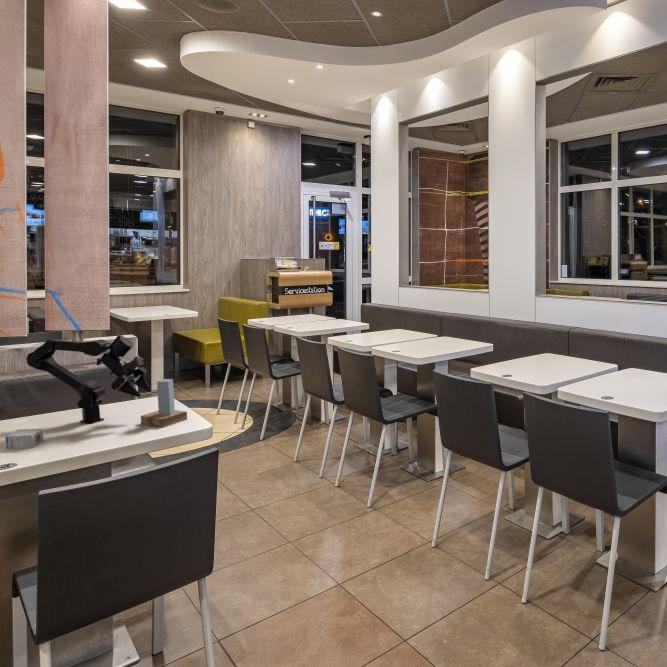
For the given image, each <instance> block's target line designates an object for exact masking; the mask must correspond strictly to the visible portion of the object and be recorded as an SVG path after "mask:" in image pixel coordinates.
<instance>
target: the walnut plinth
mask: <svg viewBox="0 0 667 667" xmlns="http://www.w3.org/2000/svg"><path fill="white" fill-rule="evenodd" d="M187 420H188V412H187V411H185V410H184V411H183V410H178V409H177V410H176V409H175V412H174V413H173V414H171V415H159V410H156V411H152V412H149V413H146V414H142V415H140V424H141V425H148V426H153V427H160V428H167V427H168V426H171V425H174V424H178V423H181V422H183V421H187Z"/></svg>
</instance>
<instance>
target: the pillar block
mask: <svg viewBox="0 0 667 667" xmlns="http://www.w3.org/2000/svg"><path fill="white" fill-rule="evenodd" d="M156 389H157V390H156V392H157V406H158V411H159V415H171V414H173V413H174V412H175V410H176V408H175V393H174V392H175V391H174V389H175V388H174V379H173V378H167V379H166V378H162V379H159V380H157V381H156Z"/></svg>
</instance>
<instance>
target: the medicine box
mask: <svg viewBox="0 0 667 667" xmlns="http://www.w3.org/2000/svg"><path fill="white" fill-rule="evenodd" d="M43 441H44V434H43V429H42V428H25V429H24V428H23V429H22V428H21V429H17V430H15V431H13V432H11V433H9V434H8V435H6V436H5V445H6V449H7V450H8V449H9V450H10V449H11V450H12V449H31V448H32V449H33V448H34V447H36V446H37V445H38V444H40V443H42V442H43Z"/></svg>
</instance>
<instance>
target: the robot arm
mask: <svg viewBox="0 0 667 667" xmlns="http://www.w3.org/2000/svg"><path fill="white" fill-rule="evenodd" d="M133 347H134V343H133V341H132V340H131V339H130V338H127V337H126V336H123V335H122V334H117V336H116V338H115V339H114V340H113V341H112V342H107V341H106V340H105V339H94V340H93V339H91V340H87V341H81V340H68V339H57V338H50V339H48V340H45V342H44V343H42V344H41V345H40V346H39V347H37V348H36V349H35V350H33V351H32V352H29V353H27V355H26V364H27V365H28V366H29V367H30V368H33V369H36V370H38V371H43V372H47V373H48V374H50V375H51V376H53V377H54V378H56V379H58V380H60V382H62V383H63V384H66V385H67V386H68V387H70V388H72V389H73V390H75V392H77V394H78V396H79V398H80V399H79V400H78V401H77V403H76V405H77V407H78V409H81V413H82V414H81V415H82V420H79V423H82V422H83V424H88V425H89V424H94V423H97V422H101V421H104V420H105V418H102V417H101V412H100V411H101V408H100V404H102V403H103V400H104V399H105V398H106V389H105V388H104V387H103V384H100V383H98V382H97V381H96V380H94V379H93V380H91V381H90V380H89V381H86V380H84V379H83V378H81V377H79V376H78V375H76V374H75V373H73V372H72V371H70V370H69V369H67V368H65V367H64V366H62V365H61V364H59V363H58V362H57V361H56V360H55V357H54V355H55V353H56V352H57V351H67V352H77V353H78V352H80V353H82V354H84V355H86V356H90V357H98V356H101V355H102V356H101V357H98V358H96V366H97V367H98V366H101V365H103V366H105V367H106V368H107V369H108V370H109V371H110V375H111V376H115V377H116V378H115V379H114V380H113V381H112V383H111V384H110V385H111V389H113V390H114V391H115V392H116V391H117V392H120V393H124V394H128V395H130V396H133V397H136V398H140V397H141V395H142V394H140V392H139V391H138V390H137V389H136V387H135V386H137V387H138V388H141V389H142V390H144V391H146V392H149V393H150V392H152V389H151V386H150V385H149V382H148V381H147V379H146V375H147V369H146V368H145V367H143V366H144V365H145V364H144V358H142V356H140V355H138V356H135V357H133V360H130V361H127V360H124V361H123V359H121V357H122V358H124V357H125V356H126V355H127V354H128V353H129V352H130V350H131V349H132V348H133ZM141 366H142V367H141ZM132 383H133V384H134V385H133V384H132Z"/></svg>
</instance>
